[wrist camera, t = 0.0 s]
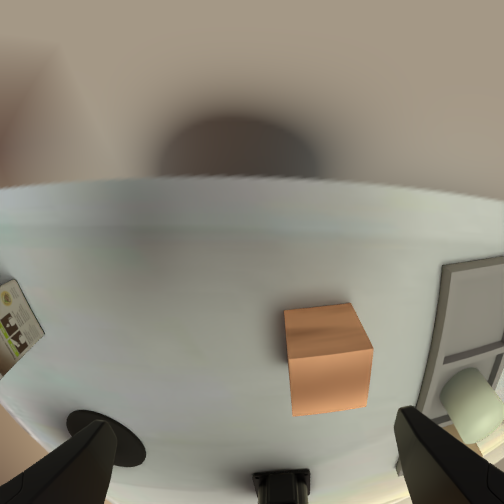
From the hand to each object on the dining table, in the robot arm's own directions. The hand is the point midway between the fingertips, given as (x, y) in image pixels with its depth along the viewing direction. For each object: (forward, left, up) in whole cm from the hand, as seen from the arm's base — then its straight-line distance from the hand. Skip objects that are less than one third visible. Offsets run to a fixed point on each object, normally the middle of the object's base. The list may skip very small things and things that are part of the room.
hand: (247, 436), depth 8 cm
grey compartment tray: (-15, -19, -15) cm, 28 cm away
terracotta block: (-6, -4, -15) cm, 17 cm away
